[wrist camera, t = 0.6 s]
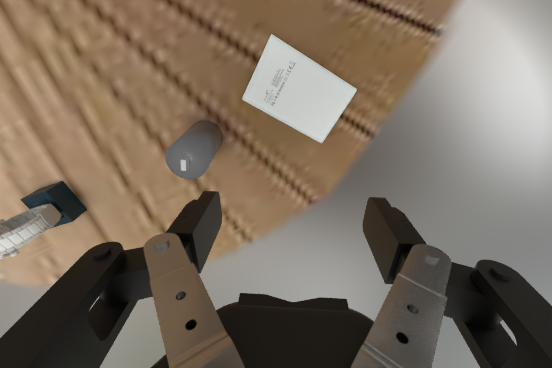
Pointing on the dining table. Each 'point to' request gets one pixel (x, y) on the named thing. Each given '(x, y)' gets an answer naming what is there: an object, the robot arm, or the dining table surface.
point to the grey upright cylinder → (194, 150)
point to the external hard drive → (297, 90)
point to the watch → (39, 216)
